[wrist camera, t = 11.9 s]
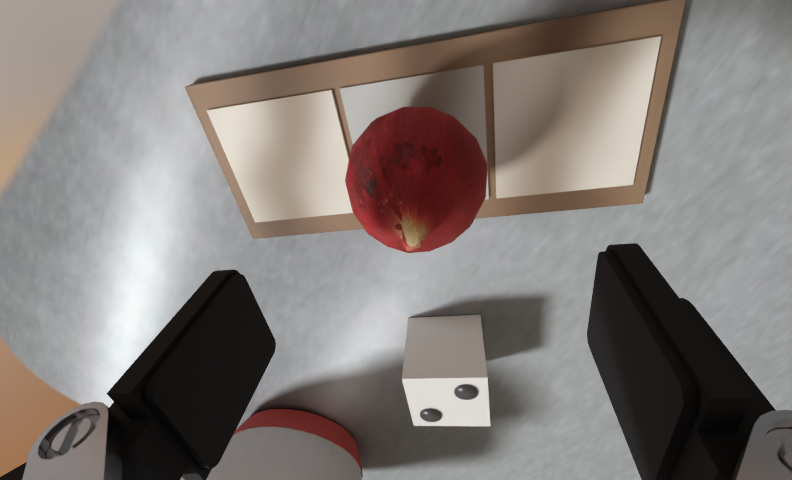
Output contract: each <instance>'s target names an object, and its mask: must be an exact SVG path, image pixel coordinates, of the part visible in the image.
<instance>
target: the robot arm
mask: <svg viewBox="0 0 792 480" xmlns="http://www.w3.org/2000/svg"><path fill="white" fill-rule="evenodd" d="M587 338H588V344H589V347H590V350H591V352H592V355H593V357H594V360H595V363H596V365H597V368H598V370H599V373H600V375H601V378H602V380H603V383H604V385H605V388H606V390H607V393H608V395H609V398H610V401H611V403H612V406H613V408H614V411H615V413H616V416H617V418H618V421H619V423H620V426H621V428H622V431H623V433H624V436H625V439H626V441H627V444H628V446H629V449H630V451H631V454H632V456H633V459H634V461H635V464H636V466H637V469H638V471H639V474H640V477H641V479H642V480H792V411H791V410H778V411H776V410H775V409H774V408H773V406H772V405H771V404H770V402H769V401H768V400H767V399H766V397H765V396H764V395H763V394H762V392H761V391H760V390H759V388H758V387H757V386H756V385H755V383H754V382H753V381H752V380H751V378H750V377H749V376H748V374H747V373H746V372H745V371H744V369H743V368H742V367H741V366H740V364H739V363H738V362H737V360H736V359H735V358H734V357H733V355H732V354H731V353H730V352H729V350H728V349H727V348H726V346H725V345H724V344H723V343H722V341H721V340H720V339H719V338H718V336H717V335H716V334H715V332H714V331H713V330H712V329H711V327H710V326H709V325H708V324H707V322H706V321H705V320H704V318H703V317H702V316H701V315H700V313H699V312H698V311H697V310H696V308H695V307H694V306H693V305H692V304H691V303H690V302H689V301H688V300H686V299H684V298H679V297H678V296H677V295H676V293H675V292H674V291H673V289H672V288H671V287H670V285H669V284H668V283H667V281H666V280H665V279H664V278H663V276H662V275H661V274H660V272H659V271H658V270H657V268H656V267H655V266H654V264H653V263H652V262H651V260H650V259H649V258H648V256H647V255H646V254H645V252H644V251H643V250H642V248H641V247H640V246H639V245H638V244H635V243H634V244H618V245H609V246H608V247H607V249H606V251H605V252H599V254H598V259H597V266H596V273H595V280H594V288H593V295H592V302H591V309H590V316H589V323H588V330H587ZM275 347H276V343H275V339H274V337H273V335H272V333H271V331H270V329H269V326H268V324H267V322H266V320H265V318H264V316H263V314H262V312H261V310H260V308H259V305H258V303H257V301H256V299H255V297H254V295H253V293H252V291H251V289H250V287H249V284H248V282H247V280H246V278H245V277H244V276H243V275H241V274H240V273H239V272H238V271H237V270H221V271H214V272H213V273H212V274H211V275H210V276H209V277H208V278H207V279H206V280H205V281H204V283H203V284H202V285H201V286H200V287H199V288H198V290H197V291H196V292H195V293H194V294H193V295H192V296H191V298H190V299H189V300H188V301H187V302H186V303H185V304H184V306H183V307H182V308H181V309H180V310H179V311H178V312H177V314H176V315H175V316H174V317H173V318H172V319H171V321H170V322H169V323H168V324H167V325H166V326H165V327H164V329H163V330H162V331H161V332H160V333H159V334H158V335H157V337H156V338H155V339H154V340H153V341H152V342H151V343H150V345H149V346H148V347H147V348H146V349H145V350H144V352H143V353H142V354H141V355H140V356H139V357H138V358H137V360H136V361H135V362H134V363H133V364H132V365H131V366H130V368H129V369H128V370H127V371H126V372H125V373H124V374H123V376H122V377H121V378H120V379H119V380H118V381H117V383H116V384H115V385H114V386H113V387H112V388H111V389H110V391H109V392H108V393H107V394H108V395H109V397H110V398H111V399H112V400H113V401H114V403H113V404H112V405H111V406H110V408H108V407H107V406H106V405H105V404H104V403H101V402H91V403H86V404H83V405H81V406H78V407H76V408H74V409H72V410H70V411H69V412H67V413H65V414H63V415H62V416H61V417H59V418H58V419H57V420H55V421H54V422H53V423H51V424H50V425H49V426H48V427H47V429H45V430H44V431H43V432H42V433H41V434H40V436H39V437H38V438H37V440H36V441H35V443H34V444H33V446H32V448H31V450H30V452H29V456H28V459H27V462H26V463H24V464H23V465H21V466H19V467H17V468H15V469H14V470H12V471H10V472H8V473H7V474H5V475H3V476H1V477H0V480H180V478H181V477H183V478H184V479H185V480H206V479H207V477H208V475H209V473H210V472H211V470H212V468H214V467H216V466H217V465H218V463H219V462H220V460H221V458H222V456H223V454H224V452H225V450H226V448H227V446H228V444H229V442H230V440H231V438H232V436H233V434H234V432H235V430H236V428H237V426H238V424H239V422H240V420H241V418H242V416H243V414H244V412H245V410H246V408H247V406H248V404H249V402H250V400H251V398H252V396H253V394H254V392H255V390H256V388H257V386H258V384H259V382H260V380H261V378H262V376H263V374H264V372H265V370H266V368H267V366H268V364H269V362H270V360H271V358H272V356H273V354H274V352H275Z"/></svg>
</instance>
